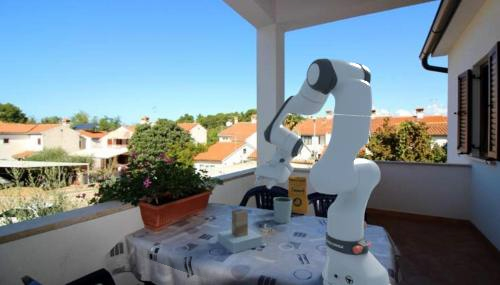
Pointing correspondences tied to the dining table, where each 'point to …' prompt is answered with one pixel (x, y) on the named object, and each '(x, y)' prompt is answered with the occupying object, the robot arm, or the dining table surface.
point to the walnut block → (239, 223)
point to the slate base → (239, 241)
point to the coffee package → (298, 194)
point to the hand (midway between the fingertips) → (261, 186)
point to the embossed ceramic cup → (282, 209)
